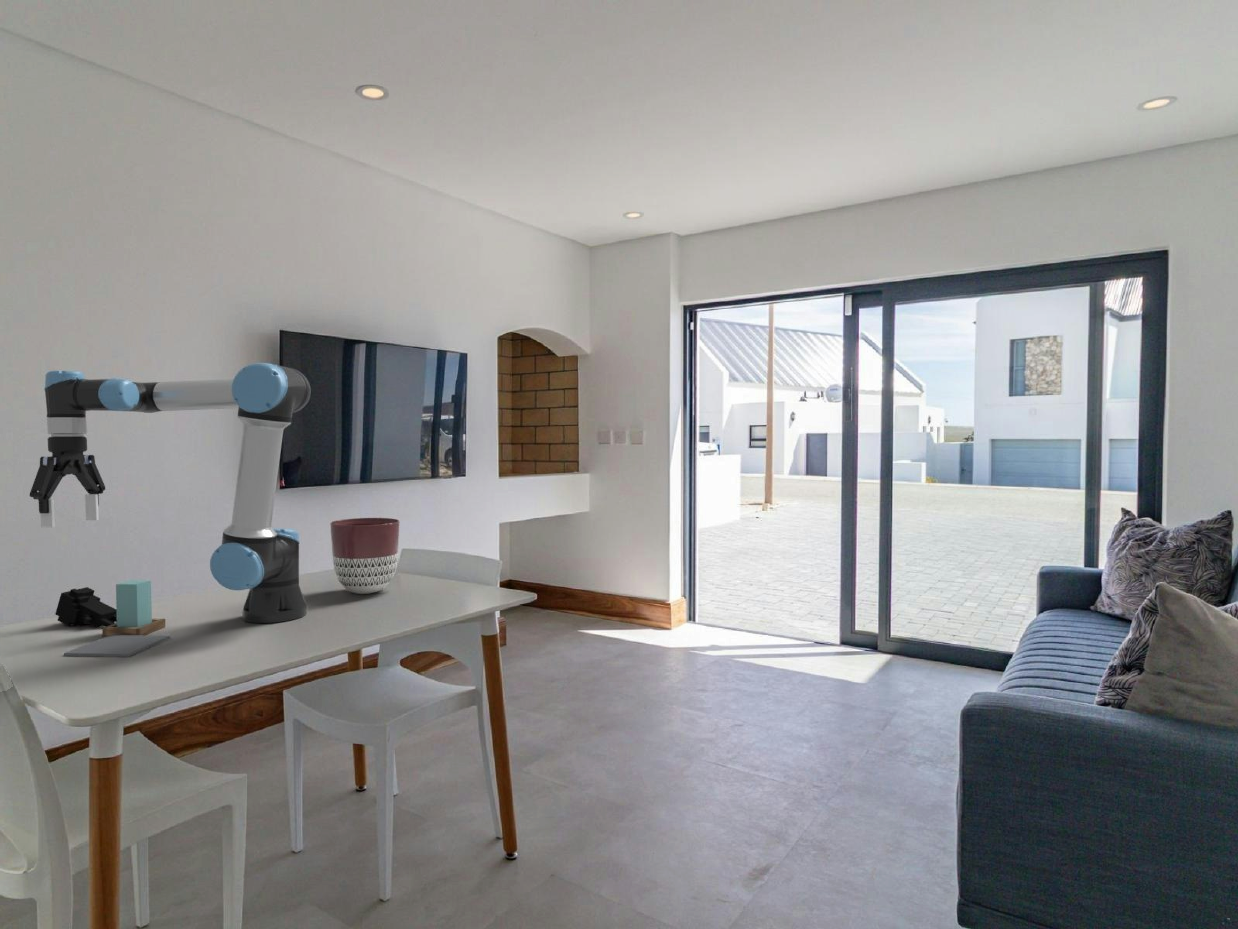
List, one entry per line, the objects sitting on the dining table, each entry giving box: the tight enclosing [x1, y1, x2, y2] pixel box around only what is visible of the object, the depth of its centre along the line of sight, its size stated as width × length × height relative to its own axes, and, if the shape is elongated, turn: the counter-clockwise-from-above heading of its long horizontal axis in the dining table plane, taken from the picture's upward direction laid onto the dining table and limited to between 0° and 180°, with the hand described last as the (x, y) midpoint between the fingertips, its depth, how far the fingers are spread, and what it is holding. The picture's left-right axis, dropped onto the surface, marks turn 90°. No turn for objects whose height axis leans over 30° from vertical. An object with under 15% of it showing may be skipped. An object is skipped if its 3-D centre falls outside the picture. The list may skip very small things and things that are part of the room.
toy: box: [54, 586, 117, 629], centre depth 179 cm, size 9×8×15 cm
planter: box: [330, 517, 400, 595], centre depth 217 cm, size 20×20×21 cm
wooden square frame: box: [101, 618, 166, 638], centre depth 173 cm, size 9×9×2 cm
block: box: [115, 579, 153, 627], centre depth 173 cm, size 5×5×12 cm
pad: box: [63, 634, 172, 658], centre depth 161 cm, size 14×14×1 cm
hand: (71, 523), depth 174 cm, fingers open, 13 cm apart
